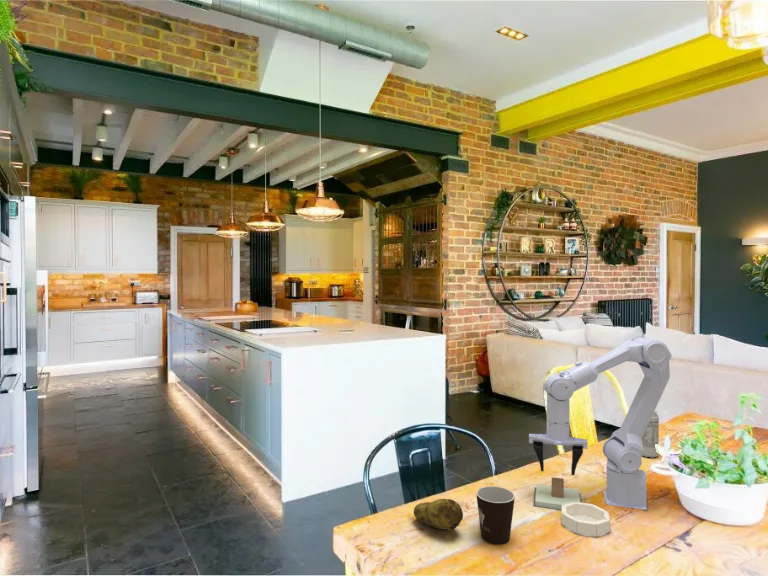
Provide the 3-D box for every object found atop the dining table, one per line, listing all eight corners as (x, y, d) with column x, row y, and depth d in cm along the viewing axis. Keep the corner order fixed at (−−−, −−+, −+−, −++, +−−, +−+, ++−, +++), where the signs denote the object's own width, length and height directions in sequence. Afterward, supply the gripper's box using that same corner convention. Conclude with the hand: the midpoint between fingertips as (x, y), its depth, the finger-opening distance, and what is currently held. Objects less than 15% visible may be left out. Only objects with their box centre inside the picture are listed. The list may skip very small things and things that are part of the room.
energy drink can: (656, 453, 164) (657, 409, 164) (659, 460, 158) (660, 414, 158) (636, 451, 166) (637, 407, 166) (638, 457, 161) (639, 412, 160)
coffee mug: (515, 549, 107) (516, 504, 107) (475, 545, 109) (476, 501, 109) (512, 523, 118) (512, 482, 118) (476, 519, 120) (476, 479, 120)
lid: (578, 493, 133) (578, 474, 133) (581, 512, 123) (581, 491, 123) (536, 488, 137) (536, 469, 137) (535, 505, 127) (535, 485, 126)
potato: (438, 513, 124) (438, 482, 123) (468, 538, 112) (468, 503, 112) (410, 520, 120) (409, 488, 120) (437, 546, 108) (437, 511, 108)
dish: (606, 519, 120) (606, 506, 120) (611, 541, 110) (611, 526, 110) (561, 513, 123) (561, 499, 123) (562, 533, 113) (562, 519, 113)
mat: (580, 494, 134) (580, 493, 134) (583, 514, 122) (583, 513, 122) (534, 488, 138) (534, 487, 138) (533, 507, 126) (533, 506, 126)
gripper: (528, 422, 128) (528, 474, 128) (588, 428, 123) (588, 481, 124) (529, 415, 135) (529, 464, 135) (586, 420, 130) (586, 471, 130)
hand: (557, 471), depth 130 cm, fingers open, 7 cm apart
